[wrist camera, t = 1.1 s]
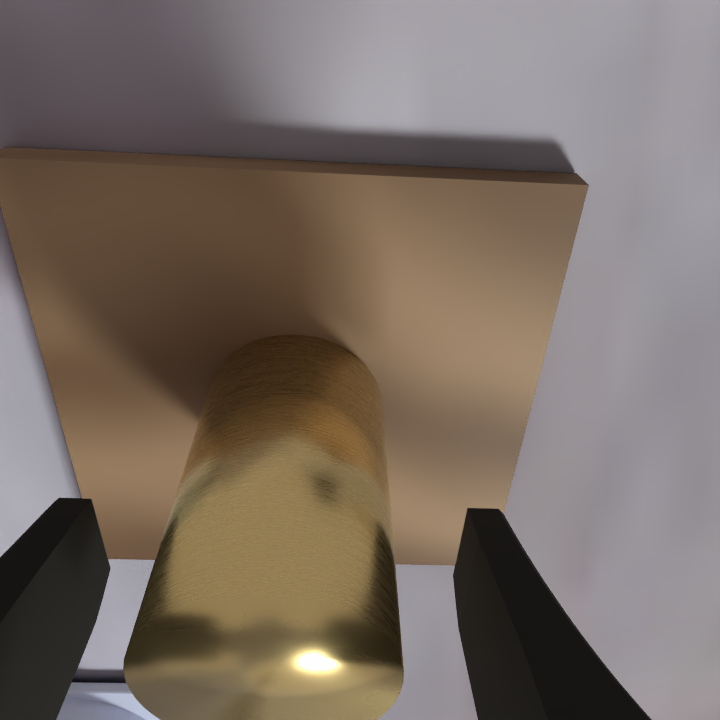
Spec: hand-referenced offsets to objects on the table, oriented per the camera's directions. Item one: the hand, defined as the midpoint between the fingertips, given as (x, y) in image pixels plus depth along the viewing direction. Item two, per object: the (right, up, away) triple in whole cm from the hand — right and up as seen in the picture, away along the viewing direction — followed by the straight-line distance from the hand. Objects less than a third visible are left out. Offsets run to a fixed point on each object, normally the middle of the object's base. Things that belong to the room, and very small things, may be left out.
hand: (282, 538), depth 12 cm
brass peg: (0, +2, +4) cm, 4 cm away
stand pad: (0, +3, +4) cm, 5 cm away
